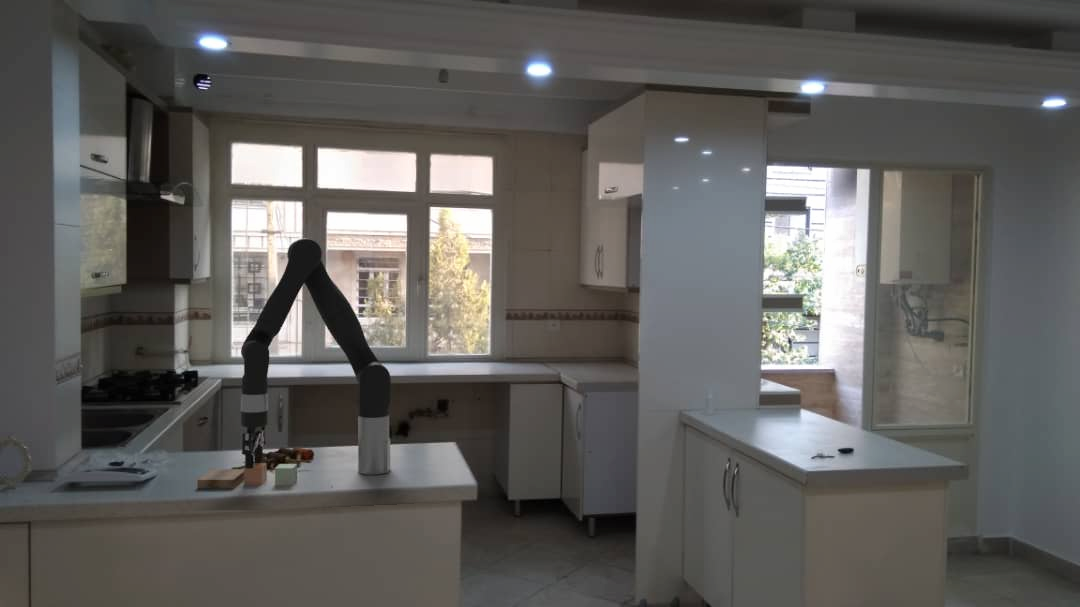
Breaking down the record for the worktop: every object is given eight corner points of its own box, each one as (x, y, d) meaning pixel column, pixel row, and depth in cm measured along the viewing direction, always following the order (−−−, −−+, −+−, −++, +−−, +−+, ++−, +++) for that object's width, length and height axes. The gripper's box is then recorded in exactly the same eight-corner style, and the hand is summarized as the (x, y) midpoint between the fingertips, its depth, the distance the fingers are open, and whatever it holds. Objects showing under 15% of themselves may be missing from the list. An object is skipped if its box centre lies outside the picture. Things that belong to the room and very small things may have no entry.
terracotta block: (266, 480, 246) (266, 463, 245) (261, 484, 241) (261, 467, 240) (249, 480, 246) (249, 463, 245) (244, 484, 241) (243, 467, 240)
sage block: (297, 480, 245) (297, 463, 245) (292, 485, 240) (292, 468, 240) (279, 481, 245) (279, 464, 245) (275, 485, 240) (274, 468, 240)
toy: (259, 495, 243) (336, 463, 268) (257, 476, 242) (334, 446, 267) (202, 482, 257) (280, 452, 282) (200, 464, 256) (278, 436, 281)
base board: (246, 477, 248) (246, 469, 248) (233, 488, 236) (233, 479, 236) (212, 477, 248) (212, 469, 247) (197, 488, 236) (197, 479, 235)
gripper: (260, 413, 235) (259, 471, 236) (274, 405, 249) (274, 459, 250) (233, 413, 235) (232, 470, 236) (248, 404, 249) (248, 458, 250)
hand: (253, 464), depth 243 cm, fingers open, 8 cm apart
